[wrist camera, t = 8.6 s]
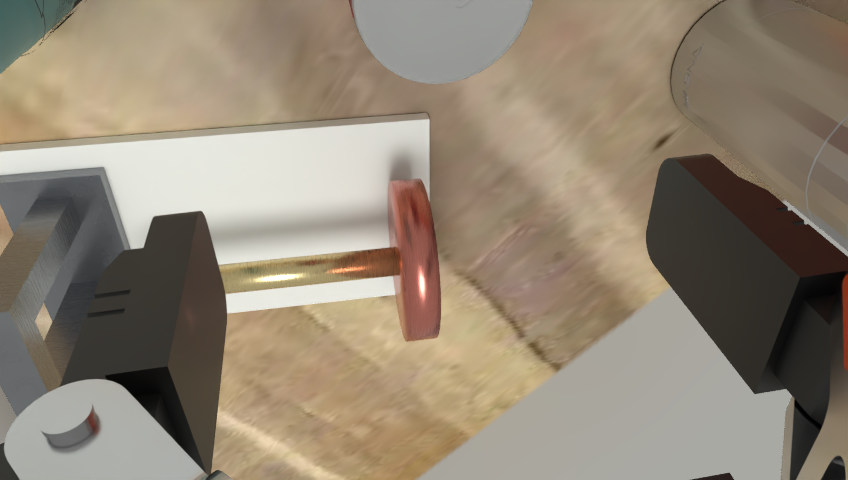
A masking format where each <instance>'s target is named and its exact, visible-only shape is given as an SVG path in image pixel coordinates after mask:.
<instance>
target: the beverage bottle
mask: <svg viewBox="0 0 848 480" xmlns="http://www.w3.org/2000/svg"><path fill="white" fill-rule="evenodd" d="M81 1H82V0H0V74H1V73H2V72H3V71H4V70H5V69H6V68H8V67H9V66H10V65H11V64H12V63H13V62H14V61H15V60H16V59H18V58H19V57H20V56H24V55H22V54H23V53H24V52H26V51H28V50H29V49H30V48H31V47H32V46H33V45H34V44H35V43H36V42H38V41H39V40H40V39H41V38H42V37H43V36H44V35H45V34H46V33H47V32H48V31H49V30H50V29H51V28H52V29H54V28H53V27H55V25H56V24H57V23H58V22H59V21H60V20H61V19H62V18H63V17H64V16H65V15H67V13H68V14H69V12H70V11H72V9H73V8H74V7H75V6H76V5H77V4H79V3H80V2H81ZM86 1H87V0H86ZM86 1H85V2H86ZM74 11H75V10H74ZM72 12H73V11H72ZM70 13H71V12H70ZM72 14H73V13H71V14H70V15H69V16H66V17H67V18H66V17H65V20H62V21H63V22H62V23H64V22H65V21H66V20H67V19H68V18H69V17H70V16H71V15H72ZM62 23H61V24H62ZM61 24H60V25H61ZM60 25H56V26H58V27H59V26H60ZM58 27H55V28H56V29H57V28H58ZM56 29H55V30H56ZM51 31H52V30H51ZM52 32H54V31H52ZM52 32H51V33H52ZM48 37H49V36H48ZM43 38H44V37H43ZM46 39H47V38H46ZM46 39H44V40H46ZM42 41H43V40H42ZM40 45H41V44H40ZM40 45H39V46H40ZM39 46H38V47H39ZM32 52H33V51H32ZM29 54H30V53H29ZM26 55H27V54H26Z"/></svg>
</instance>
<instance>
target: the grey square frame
mask: <svg viewBox="0 0 848 480" xmlns="http://www.w3.org/2000/svg"><path fill="white" fill-rule="evenodd" d="M0 204H1V207H2V209H3V211H4V213H5V216H6V218H7V220H8V222H9V225H10V227H11V229H12V231H13V234H14V235H13V237H12V238H11V240H10V242H9V243H8V245H7V246H6V248H5V250H4V251H3V253H2V254H1V256H0V386H1V388H2V390H3V392H4V393H5V395H6V397H7V399H8V401H9V403H10V404H11V406H12V408H13V410H14V412H15V414H16V415H17V417H18V416H19V415H20V414H21V413H22V412H23V411H24V410H25V409H26V408H27V407H28V406H29V405H30V404H32V403H33V402H34V401H35V400H37V399H38V398H40V397H42V396H43V395H45V394H46V393H48V392H50V391H52V390H54V389H56V388H59V387H60V384H61V382H62V379H63V376H64V374H65V371H66V368H67V365H68V363H69V360H70V357H71V355H72V352H73V349H74V347H75V344H76V341H77V339H78V336H79V333H80V331H81V328H82V325H83V323H84V320H85V318H87V312H88V309H89V307H90V304H91V301H92V299H95V297H94V293H95V290H96V288H97V285H98V282H99V280H100V277H101V274H102V272H103V271H104V270H105V269H106V268H107V267H108V266H109V265H110V263H111V262H112V261H113V260H114V259H115V258H116V257H117V256H118V255H119V254H120V253H121V252H122V251H123V250H130V249H131V248H130V245H129V242H128V239H127V236H126V233H125V230H124V227H123V224H122V221H121V218H120V215H119V212H118V208H117V205H116V202H115V199H114V196H113V193H112V190H111V187H110V184H109V181H108V178H107V175H106V172H105V169H104V167H96V168H83V169H71V170H58V171H46V172H33V173H21V174H9V175H0ZM43 303H45V306H46V308H47V310H48V312H49V315H50V317H51V319H52V321H53V322H52V325H51V327H50V329H49V331H48V333H47V336H46V338H45V340H43V338H42V336H41V334H40V332H39V329H38V327H37V325H36V323H35V319H36V317H37V315H38V313H39V311H40V309H41V307H42V305H43Z"/></svg>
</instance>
